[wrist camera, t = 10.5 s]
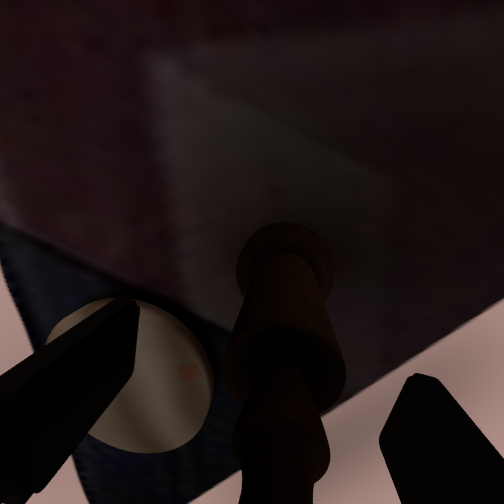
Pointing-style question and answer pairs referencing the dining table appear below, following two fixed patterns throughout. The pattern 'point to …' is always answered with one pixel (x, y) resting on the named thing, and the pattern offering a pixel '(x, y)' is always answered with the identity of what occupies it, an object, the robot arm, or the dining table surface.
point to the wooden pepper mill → (282, 365)
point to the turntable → (155, 384)
